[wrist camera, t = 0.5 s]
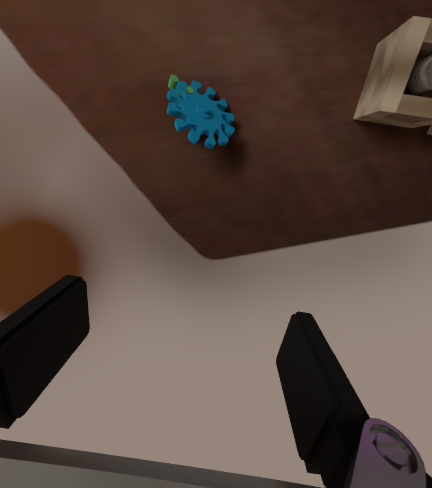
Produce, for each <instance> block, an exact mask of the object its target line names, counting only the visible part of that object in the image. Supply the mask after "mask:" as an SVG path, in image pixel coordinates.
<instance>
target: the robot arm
mask: <svg viewBox="0 0 432 488" xmlns="http://www.w3.org/2000/svg"><path fill="white" fill-rule="evenodd" d="M88 313H89V312H88V300H87V286H86V282H85V281H83V279H82V277H78V276H72V275H66V276H64V277H62V278H61V279H60V280H58V281H57V282H56V283H54V284H53V285H51V286H50V287H49V288H47V289H46V290H45V291H43V292H42V293H40V294H39V295H37V296H36V297H35V298H33V299H32V300H30V301H29V302H28V303H26V304H25V305H23V306H22V307H21V308H19V309H18V310H16V311H15V312H14V313H12V314H11V315H9V316H8V317H7V318H5V319H4V320H2V321H1V322H0V428H6V429H9V428H10V426H11V425H12V424H13V422H14V421H15V420H16V419H17V418H20V417H22V416H23V415H24V414H25V413H26V412H27V410H28V409H29V408H30V407H31V405H32V404H33V403H34V402H35V401H36V399H37V398H38V397H39V396H40V394H41V393H42V392H43V390H44V389H45V388H46V387H47V385H48V384H49V383H50V382H51V380H52V379H53V378H54V376H55V375H56V374H57V373H58V372H59V370H60V369H61V368H62V367H63V365H64V364H65V363H66V362H67V360H68V359H69V358H70V356H71V355H72V354H73V353H74V351H75V350H76V349H77V348H78V346H79V345H80V344H81V343H82V341H83V340H84V339H85V338H86V336H87V335H88V333H89V329H90V328H89V327H90V325H89V314H88ZM276 365H277V369H278V373H279V377H280V381H281V385H282V390H283V394H284V398H285V402H286V406H287V410H288V414H289V418H290V422H291V426H292V430H293V434H294V438H295V442H296V446H297V450H298V454H299V457H300V458H301V460H304V462H305V465H306V470H307V472H308V473H313V474H320V475H321V478H322V481H323V484H324V486H325V488H432V477H430V476H429V475H428V474H427V473H426V471H425V467H424V463H423V460H422V459H421V456H420V454H419V453H418V451H417V450H416V448H415V447H414V445H413V444H412V443H411V442H410V441H409V440H408V439H407V438H406V437H405V435H404V434H403V433H401V432H400V431H399V430H398V429H396V428H395V427H394V426H392V425H391V424H389V423H387V422H386V421H383V420H380V419H376V418H370V417H369V415H368V414H367V412H366V410H365V408H364V407H363V405H362V403H361V401H360V399H359V398H358V396H357V394H356V393H355V390H354V388H353V387H352V385H351V384H350V381H349V380H348V378H347V376H346V374H345V372H344V371H343V369H342V367H341V365H340V363H339V362H338V360H337V358H336V356H335V354H334V353H333V351H332V350H331V348H330V346H329V344H328V343H327V341H326V339H325V337H324V335H323V334H322V332H321V330H320V328H319V326H318V325H317V323H316V321H315V319H314V318H313V316H312V315H311V314H310V313H304V312H297V313H296V314H293V315H292V316H291V319H290V321H289V324H288V327H287V330H286V333H285V335H284V338H283V341H282V344H281V347H280V349H279V352H278V355H277V359H276ZM0 488H320V487H315V486H309V485H303V484H297V483H291V482H286V481H280V480H274V479H268V478H262V477H255V476H249V475H242V474H235V473H229V472H222V471H216V470H209V469H203V468H196V467H190V466H183V465H175V464H169V463H162V462H155V461H148V460H142V459H135V458H127V457H121V456H114V455H107V454H101V453H94V452H87V451H79V450H72V449H64V448H58V447H50V446H44V445H36V444H29V443H21V442H15V441H7V440H0Z"/></svg>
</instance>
